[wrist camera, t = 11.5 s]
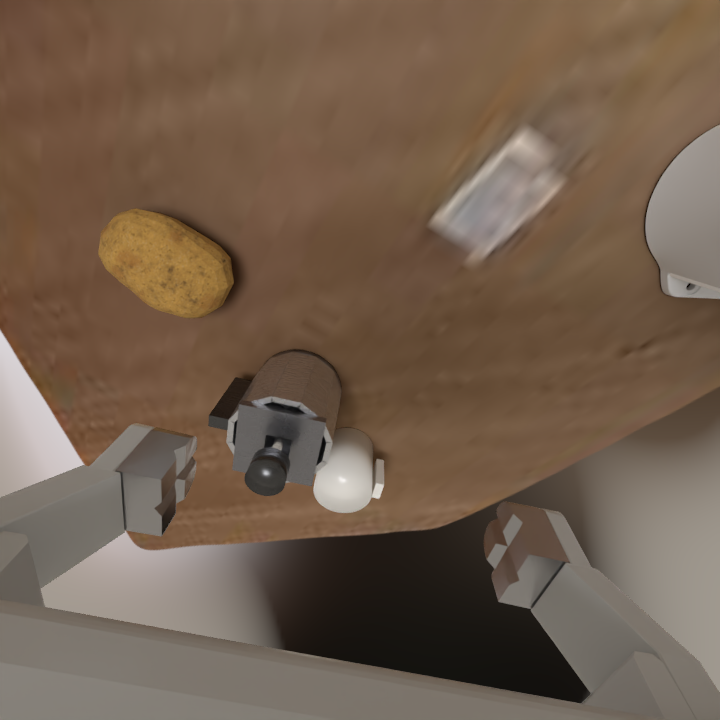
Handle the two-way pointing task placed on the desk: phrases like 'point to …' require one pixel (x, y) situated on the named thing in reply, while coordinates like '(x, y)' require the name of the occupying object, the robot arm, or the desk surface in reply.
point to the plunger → (269, 465)
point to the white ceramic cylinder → (349, 473)
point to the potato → (166, 263)
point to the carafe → (283, 413)
